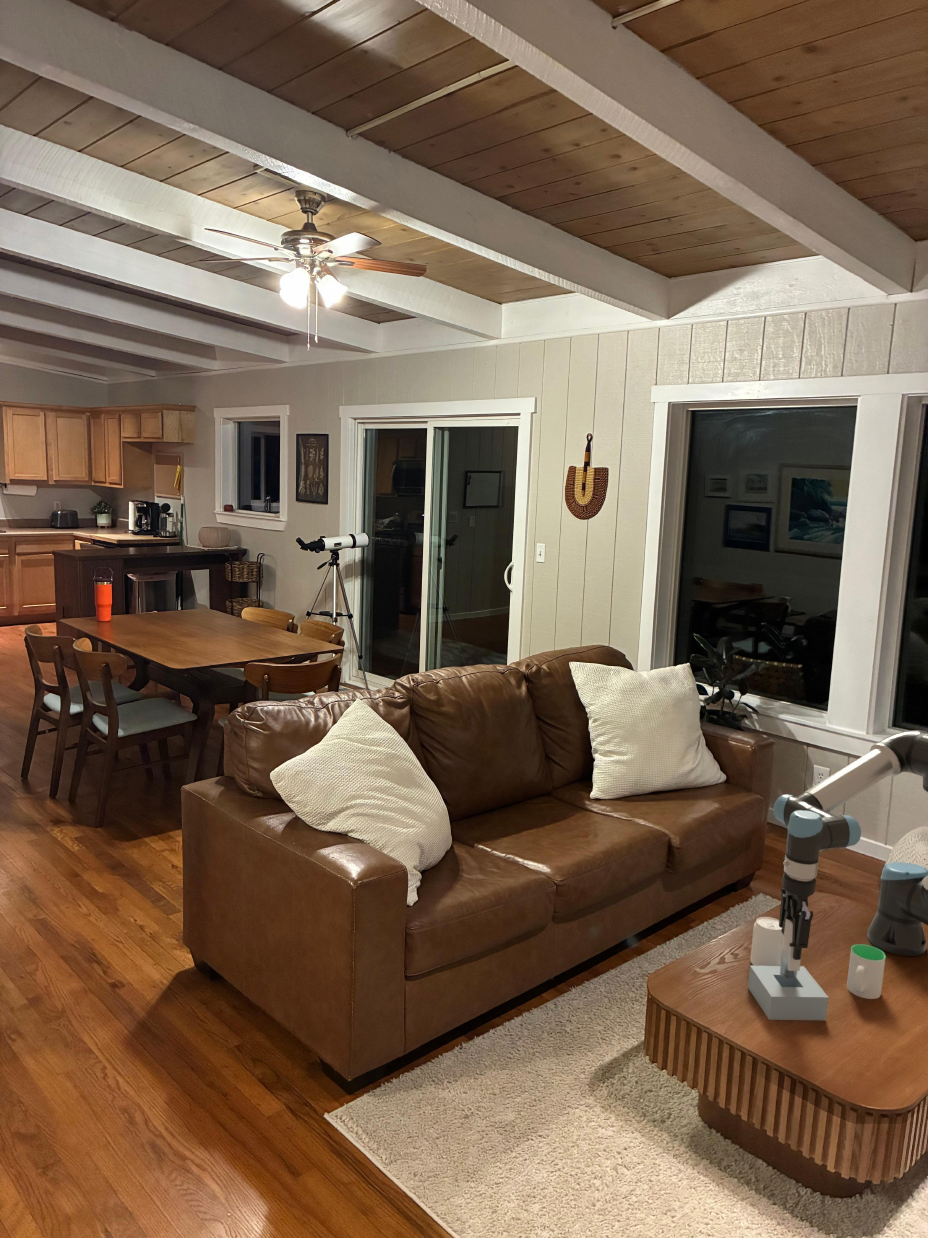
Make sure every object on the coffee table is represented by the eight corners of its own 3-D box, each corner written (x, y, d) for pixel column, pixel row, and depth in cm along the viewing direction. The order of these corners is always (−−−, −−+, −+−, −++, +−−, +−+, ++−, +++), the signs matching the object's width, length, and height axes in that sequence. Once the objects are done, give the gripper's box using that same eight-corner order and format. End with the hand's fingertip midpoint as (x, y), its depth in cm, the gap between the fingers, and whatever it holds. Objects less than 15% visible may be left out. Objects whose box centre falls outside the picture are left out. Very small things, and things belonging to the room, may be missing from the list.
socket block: (801, 988, 232) (803, 966, 231) (825, 1020, 218) (828, 997, 218) (747, 987, 231) (750, 965, 230) (768, 1020, 218) (771, 996, 217)
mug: (874, 1010, 224) (879, 970, 222) (840, 998, 228) (844, 959, 227) (883, 989, 234) (888, 951, 232) (850, 978, 238) (854, 941, 237)
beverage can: (777, 959, 246) (782, 917, 245) (785, 974, 238) (789, 932, 237) (747, 956, 247) (751, 914, 245) (753, 971, 239) (758, 929, 237)
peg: (792, 970, 226) (798, 917, 224) (799, 979, 222) (805, 925, 220) (777, 970, 226) (782, 917, 223) (783, 979, 222) (789, 925, 219)
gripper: (770, 860, 228) (761, 947, 231) (799, 890, 211) (788, 983, 215) (800, 861, 228) (790, 947, 232) (830, 891, 212) (819, 984, 215)
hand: (789, 964), depth 223 cm, fingers closed on peg, 4 cm apart
